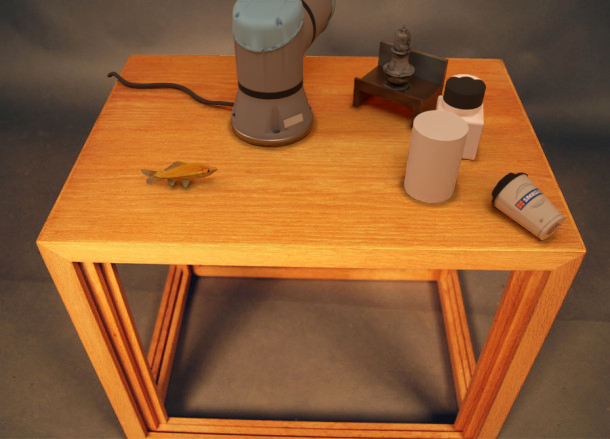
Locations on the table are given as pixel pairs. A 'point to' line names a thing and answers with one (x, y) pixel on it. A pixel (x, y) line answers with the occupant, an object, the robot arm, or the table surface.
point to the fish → (180, 173)
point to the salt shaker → (399, 63)
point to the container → (465, 107)
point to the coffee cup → (526, 205)
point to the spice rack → (422, 82)
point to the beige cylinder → (435, 155)
